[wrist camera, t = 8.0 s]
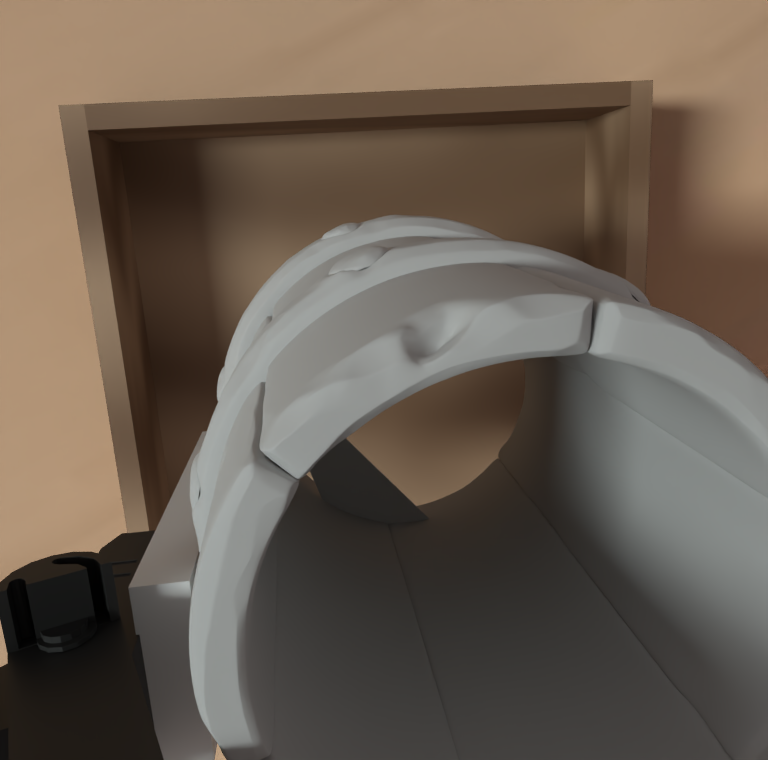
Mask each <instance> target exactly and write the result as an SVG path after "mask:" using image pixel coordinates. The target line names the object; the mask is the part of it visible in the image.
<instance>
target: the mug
mask: <svg viewBox="0 0 768 760" xmlns="http://www.w3.org/2000/svg"><path fill="white" fill-rule="evenodd" d="M520 359H523V360H524V366H525V393H524V400H523V405H522V408H521V412H520V415H519V418H518V420H517V423H516V425H515V428H514V430H513V432H512V434H511V436H510V438H509V439H508V441H507V442H506V443H505V444H504V445H503V446H502V448H501V449H500V451H499V454H498V457H499V459H496V460H494V461H493V462H492V463H491V464H490V465H489V466H488V467H487V468H486V470H485V471H484V472H482V473H481V474H480V475H479V476H478V477H477V478H475V479H474V480H473V481H472V482H470V483H469V484H468V485H466V486H465V487H463V488H462V489H460V490H458V491H456V492H454V493H452V494H450V495H448V496H445V497H443V498H441V499H438V500H436V501H433V502H429V503H426V504H423V505H419V506H416V505H415V504H414V503H413V502H412V501H410V500H409V499H408V498H407V497H406V496H405V495H404V494H403V493H402V492H401V491H400V490H399V489H398V488H397V487H396V486H395V485H394V484H393V483H392V482H391V481H390V480H389V479H388V478H387V477H386V476H385V475H383V474H382V473H381V472H380V471H379V470H378V469H377V468H376V467H375V466H374V465H373V464H372V463H371V462H370V461H369V460H368V459H367V458H366V457H365V456H364V455H363V454H362V453H361V452H360V451H359V450H357V449H356V448H355V447H354V446H353V445H352V444H351V443H350V442H349V441H348V440H347V439H346V438H347V437H348V436H350V435H351V434H352V433H354V432H355V431H356V430H358V429H359V428H360V427H362V426H363V425H364V424H366V423H367V422H368V421H370V420H371V419H373V418H374V417H375V416H377V415H378V414H380V413H381V412H383V411H384V410H386V409H388V408H389V407H391V406H392V405H394V404H396V403H398V402H399V401H401V400H403V399H405V398H406V397H408V396H410V395H412V394H414V393H416V392H418V391H420V390H422V389H424V388H426V387H428V386H431V385H433V384H435V383H438V382H440V381H443V380H446V379H448V378H451V377H453V376H456V375H459V374H462V373H465V372H468V371H471V370H474V369H478V368H482V367H485V366H489V365H494V364H498V363H503V362H508V361H514V360H520ZM217 400H218V404H217V406H216V408H215V411H214V413H213V416H212V418H211V421H210V424H209V427H208V430H207V433H206V435H205V438H204V441H203V443H202V446H201V449H200V452H199V453H198V454H197V455H196V456H195V458H194V460H193V463H192V466H191V473H190V501H191V507H192V518H193V523H194V527H195V531H196V535H197V540H198V546H199V552H200V554H199V559H198V563H197V568H196V573H195V578H194V584H193V590H192V598H191V607H190V619H189V656H190V668H191V676H192V683H193V689H194V694H195V698H196V702H197V706H198V709H199V713H200V715H201V718H202V720H203V722H204V724H205V726H206V727H207V729H208V730H209V732H210V733H211V735H212V736H213V737H214V739H215V740H216V742H217V743H218V745H219V746H220V748H221V751H222V753H223V755H224V756H225V758H226V759H227V760H768V379H767V377H766V376H765V375H764V374H763V373H762V372H761V371H760V370H759V369H758V368H757V367H756V366H755V365H754V364H753V363H752V362H751V361H749V360H748V359H747V358H746V357H745V356H744V355H743V354H741V353H740V352H739V351H737V350H736V349H735V348H733V347H732V346H731V345H729V344H728V343H726V342H725V341H723V340H722V339H720V338H719V337H717V336H715V335H714V334H712V333H710V332H708V331H706V330H705V329H703V328H701V327H699V326H698V325H696V324H694V323H692V322H690V321H688V320H686V319H684V318H681V317H679V316H677V315H674V314H672V313H669V312H666V311H664V310H661V309H658V308H655V307H653V306H651V305H650V303H649V301H648V299H647V297H646V296H645V295H644V294H643V293H642V292H641V291H640V290H639V289H638V288H637V287H636V286H634V285H633V284H631V283H630V282H628V281H627V280H625V279H623V278H621V277H619V276H617V275H615V274H612V273H608V272H606V271H604V270H601V269H597V268H595V267H593V266H591V265H588V264H586V263H584V262H582V261H580V260H578V259H575V258H573V257H570V256H568V255H565V254H562V253H559V252H556V251H553V250H550V249H546V248H543V247H539V246H535V245H530V244H525V243H520V242H514V241H507V240H503V239H501V238H499V237H497V236H495V235H493V234H491V233H489V232H487V231H484V230H482V229H479V228H477V227H474V226H471V225H468V224H465V223H461V222H457V221H453V220H448V219H443V218H438V217H430V216H406V215H388V216H383V217H379V218H376V219H372V220H368V221H365V222H361V223H358V224H357V223H346V224H342V225H340V226H338V227H336V228H334V229H332V230H330V231H328V232H327V233H325V234H324V235H323V236H322V238H320V239H318V240H316V241H315V242H313V243H311V244H310V245H308V246H306V247H305V248H303V249H302V250H301V251H299V252H298V253H296V254H295V255H293V256H292V257H291V258H289V259H288V260H287V261H286V262H285V263H284V264H283V265H282V266H281V267H280V268H279V269H278V270H277V271H276V272H275V273H274V274H273V275H272V276H271V277H270V278H269V279H268V280H267V281H266V282H265V284H264V285H263V286H262V287H261V288H260V290H259V291H258V292H257V294H256V295H255V297H254V298H253V299H252V301H251V302H250V304H249V306H248V307H247V309H246V310H245V312H244V313H243V315H242V317H241V319H240V321H239V323H238V326H237V328H236V330H235V333H234V335H233V338H232V340H231V343H230V346H229V349H228V352H227V356H226V360H225V366H224V367H223V368H222V370H221V373H220V375H219V378H218V384H217ZM309 471H310V473H311V475H312V477H313V480H314V481H313V480H312V479H311V478H310V477H309V476H308V475H306V474H307V473H308V472H309Z"/></svg>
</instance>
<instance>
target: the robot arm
mask: <svg viewBox="0 0 768 760" xmlns="http://www.w3.org/2000/svg"><path fill="white" fill-rule="evenodd" d="M206 433H207V431H204V432H202V434H201V436H200V438H199V440H198V442H197V444H196V446H195V448H194V450H193V452H192V455H191V457H190V459H189V461H188V463H187V465H186V467H185V469H184V471H183V474H182V476H181V478H180V480H179V482H178V484H177V486H176V488H175V490H174V492H173V495H172V497H171V499H170V501H169V503H168V505H167V507H166V509H165V511H164V514H163V516H162V518H161V520H160V522H159V524H158V526H157V528H156V530H153V531H143V532H133V533H123V534H121V535H119V536H118V537H116V538H115V539H114V540H112V541H111V542H110V543H108V544H107V545H106V546H104V547H103V548H101V550H100V551H99V553H94V552H70V553H64V554H59V555H53V556H50V557H47V558H44V559H41V560H38V561H34V562H31V563H29V564H27V565H25V566H23V567H21V568H20V569H18V570H16V571H14V572H12V573H11V574H10V575H8V576H7V577H6V578H5V579H4V580H2V581H1V582H0V620H1V625H2V629H3V634H4V639H5V643H6V648H7V653H8V664H6V665H4V666H2V667H0V760H214V759H215V753H216V747H217V742H216V740H215V739H214V737H213V736H212V735H211V733H210V732H209V730H208V729H207V727H206V726H205V724H204V722H203V720H202V718H201V715H200V713H199V709H198V706H197V702H196V698H195V694H194V689H193V683H192V676H191V668H190V656H189V619H190V607H191V598H192V590H193V584H194V578H195V573H196V568H197V563H198V559H199V554H200V552H199V546H198V540H197V535H196V531H195V527H194V523H193V518H192V507H191V501H190V473H191V466H192V463H193V460H194V458H195V456H196V455H197V454H198V453H199V452H200V449H201V446H202V443H203V441H204V438H205V435H206Z"/></svg>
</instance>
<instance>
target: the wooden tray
mask: <svg viewBox="0 0 768 760" xmlns="http://www.w3.org/2000/svg"><path fill="white" fill-rule="evenodd" d="M652 94H653V80H646V81H622V82H599V83H575V84H551V85H528V86H504V87H480V88H457V89H433V90H409V91H386V92H362V93H338V94H315V95H291V96H267V97H244V98H220V99H196V100H173V101H149V102H125V103H102V104H78V105H58V106H59V112H60V119H61V125H62V131H63V137H64V143H65V150H66V156H67V162H68V168H69V174H70V181H71V187H72V193H73V199H74V205H75V211H76V218H77V224H78V230H79V236H80V242H81V249H82V255H83V261H84V267H85V273H86V279H87V286H88V292H89V298H90V304H91V310H92V317H93V323H94V329H95V335H96V341H97V347H98V354H99V360H100V366H101V372H102V378H103V385H104V391H105V397H106V403H107V409H108V416H109V422H110V428H111V434H112V440H113V446H114V453H115V459H116V465H117V471H118V477H119V484H120V490H121V496H122V502H123V508H124V514H125V521H126V527H127V533H133V532H143V531H153V530H156V528H157V526H158V524H159V522H160V520H161V518H162V516H163V514H164V511H165V509H166V507H167V505H168V503H169V501H170V499H171V497H172V495H173V492H174V490H175V488H176V486H177V484H178V482H179V480H180V478H181V476H182V474H183V471H184V469H185V467H186V465H187V463H188V461H189V459H190V457H191V455H192V452H193V450H194V448H195V446H196V444H197V442H198V440H199V438H200V436H201V434H202V432H204V431H207V430H208V427H209V424H210V421H211V418H212V416H213V413H214V411H215V408H216V406H217V404H218V400H217V384H218V378H219V375H220V373H221V370H222V368H223V367H224V366H225V360H226V356H227V352H228V349H229V346H230V343H231V340H232V338H233V335H234V333H235V330H236V328H237V326H238V323H239V321H240V319H241V317H242V315H243V313H244V312H245V310H246V309H247V307H248V306H249V304H250V302H251V301H252V299H253V298H254V297H255V295H256V294H257V292H258V291H259V290H260V288H261V287H262V286H263V285H264V284H265V282H266V281H267V280H268V279H269V278H270V277H271V276H272V275H273V274H274V273H275V272H276V271H277V270H278V269H279V268H280V267H281V266H282V265H283V264H284V263H285V262H286V261H287V260H288V259H289V258H291V257H292V256H293V255H295V254H296V253H298V252H299V251H301V250H302V249H303V248H305V247H306V246H308V245H310V244H311V243H313V242H315V241H316V240H318V239H320V238H322V236H323V235H324V234H325V233H327V232H328V231H330V230H332V229H334V228H336V227H338V226H340V225H342V224H346V223H357V224H358V223H361V222H365V221H368V220H372V219H376V218H379V217H383V216H388V215H406V216H430V217H438V218H443V219H448V220H453V221H457V222H461V223H465V224H468V225H471V226H474V227H477V228H479V229H482V230H484V231H487V232H489V233H491V234H493V235H495V236H497V237H499V238H501V239H503V240H507V241H514V242H520V243H525V244H530V245H535V246H539V247H543V248H546V249H550V250H553V251H556V252H559V253H562V254H565V255H568V256H570V257H573V258H575V259H578V260H580V261H582V262H584V263H586V264H588V265H591V266H593V267H595V268H597V269H601V270H604V271H606V272H608V273H612V274H615V275H617V276H619V277H621V278H623V279H625V280H627V281H628V282H630V283H631V284H633V285H634V286H636V287H637V288H638V289H639V290H640V291H641V292H642V293H643V294H644V295H646V267H647V238H648V209H649V180H650V152H651V123H652ZM524 393H525V366H524V360H523V359H520V360H514V361H508V362H503V363H498V364H494V365H489V366H485V367H482V368H478V369H474V370H471V371H468V372H465V373H462V374H459V375H456V376H453V377H451V378H448V379H446V380H443V381H440V382H438V383H435V384H433V385H431V386H428V387H426V388H424V389H422V390H420V391H418V392H416V393H414V394H412V395H410V396H408V397H406V398H405V399H403V400H401V401H399V402H398V403H396V404H394V405H392V406H391V407H389V408H388V409H386V410H384V411H383V412H381V413H380V414H378V415H377V416H375V417H374V418H373V419H371V420H370V421H368V422H367V423H366V424H364V425H363V426H362V427H360V428H359V429H358V430H356V431H355V432H354V433H352V434H351V435H350V436H348V437H347V438H346V439H347V440H348V441H349V442H350V443H351V444H352V445H353V446H354V447H355V448H356V449H357V450H359V451H360V452H361V453H362V454H363V455H364V456H365V457H366V458H367V459H368V460H369V461H370V462H371V463H372V464H373V465H374V466H375V467H376V468H377V469H378V470H379V471H380V472H381V473H382V474H383V475H385V476H386V477H387V478H388V479H389V480H390V481H391V482H392V483H393V484H394V485H395V486H396V487H397V488H398V489H399V490H400V491H401V492H402V493H403V494H404V495H405V496H406V497H407V498H408V499H409V500H410V501H412V502H413V503H414V504H415V505H416V506H419V505H423V504H426V503H429V502H433V501H436V500H438V499H441V498H443V497H445V496H448V495H450V494H452V493H454V492H456V491H458V490H460V489H462V488H463V487H465V486H466V485H468V484H469V483H470V482H472V481H473V480H474V479H475V478H477V477H478V476H479V475H480V474H481V473H482V472H484V471H485V470H486V468H487V467H488V466H489V465H490V464H491V463H492V462H493V461H494V460H496V459H499V457H498V454H499V451H500V449H501V448H502V446H503V445H504V444H505V443H506V442H507V441H508V439H509V438H510V436H511V434H512V432H513V430H514V428H515V425H516V423H517V420H518V418H519V415H520V412H521V408H522V405H523V400H524ZM306 475H308V476H309V477H310V478H311V479H312V480H313V477H312V475H311V473H310V471H309V472H308V473H307V474H306ZM313 481H314V480H313Z"/></svg>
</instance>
